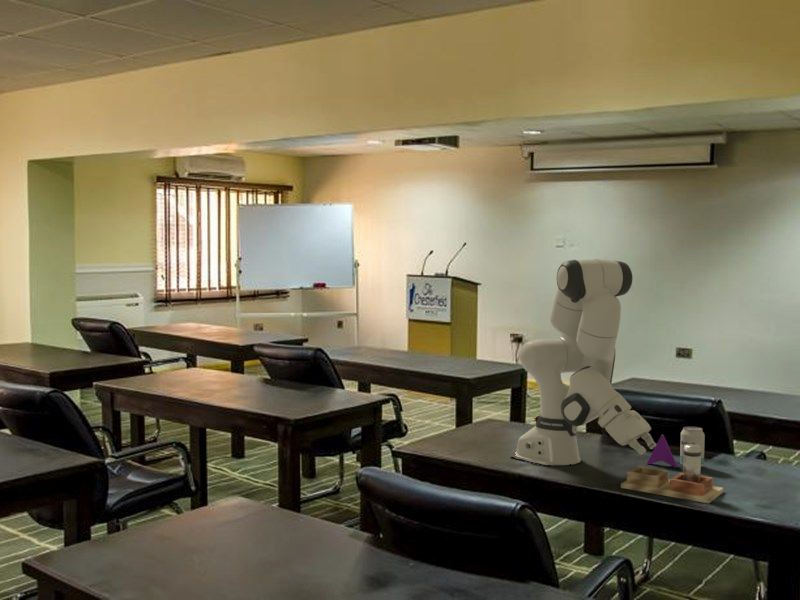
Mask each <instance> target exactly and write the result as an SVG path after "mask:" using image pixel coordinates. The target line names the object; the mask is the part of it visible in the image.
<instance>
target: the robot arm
mask: <svg viewBox="0 0 800 600" xmlns="http://www.w3.org/2000/svg"><path fill="white" fill-rule="evenodd" d="M556 284H557V290H556V295H555V298H554V301H553V304H552V308H551V313H550V317H549V319H550V323H551V326H552V327H553V328H554V329H555V330H556V331H557V332H559V333H560V336H559V337H556V338H538V339H534V340H529V341H528V342H527V341H526V342H525V343H524V344H523V345H522V347H521V349H520V352H519V361H520V364H521V366H522V367H523V370H525V372H527V373H528V374H530V375H531V377H532V379H534V381H535V382H536V384H537V387H538V390H539V399H540V402H539V403H540V414H539V415H537V416H536V417H533V418H532V419H533V423H535V426H533V427H532V428H530V429H529V430H528V431H526V432H525V433H524V434H522V435H521V436H520V437H519V438H518V442H517V445H516V450H517V451H516V452H515V454H516V455H515V456H517V457H520V458H524V459H527V460H530V461H534V462H537V463H541V464H545V465H550V464H551V466H570V464H571V465H576V464H579V463H581V460H582V459H581V455H580V453H579V452H580V451H579V447H578V439H577V434H578V427H580V426H584V425H586V424H588V423H590V422H592V421H594V420H595V419H598V420H597V424H598V425H599V426H600V427H601V428H605V429H604V430H605V431H606V432H607V433H608V434H609V436H610V437H611V438H613V440H615V442H617V443H618V445H620V446H626V445H629V447H631V448H632V449H633V450H635V451H636V452H637V453H638V454H639V455H640V456H642V455H644V454H645V453H646V452H647V449H646V448H645V447H644V446H643V445H641V444H640V443H639V442H638V439H640V438H641V439H642V440H644V441H645V443H646V444H647V447H648V448H649V449H650V450H654V449H655V447H656V445H657V443H656V442H655V441H654V438H653V437H652V435H651V434H650V433H649V432H651V430H652V427H651V426H650V424H649V423H648V422H647V420H646V419H645V418H644V417H642V416H641V415H640V413H639V412H637V411H636V410H633V409H632V406H631V404H630V403H629V402H628V401H627V400H626V398H624V396H622V394H621V393H620V392H618V391H616V390H615V389H614V387H613V386H612V382H613V376H614V369H615V360H616V343H617V338H618V333H619V328H620V324H621V323H620V322H621V313H622V312H621V309H622V308H621V307H622V306H621V302H620V300H619V298H617V297H620V296H623V295H626V294H628V293H629V291H630V289H631V287H632V285H633V273H632V269H631V267H630V266H629V265H628V263H626V262H622V261H619V260H607V259H599V258H595V259H580V260H577V259H570V260H566V261H564V262H562V263H561V265H560V266H559V267H558V269H557V273H556ZM563 373H564V374H565V373H573V374H571V376H570V377H569V385H567V384H565V383H564V382H563V380H562V375H561V374H563ZM631 409H632V410H631ZM555 464H556V465H555Z"/></svg>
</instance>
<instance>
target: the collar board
mask: <svg viewBox="0 0 800 600" xmlns="http://www.w3.org/2000/svg"><path fill="white" fill-rule="evenodd" d="M620 488H621V489H627V490H631V491H632V490H633V491H637V492H643V493H647V494H648V493H649V494H655V495H661V496H666V497H670V498H676V499H681V500H688V501H693V502H700V503H703V504H710V503H712V502H713V501H714V500H716V498H718V497H719V496H720V495H722V494H723V493H724V487H720V486H715V485H714V478H713V477H712V476H711V477H710V476H703V475H700V483H696V482H690V481H684V480H683V472H679V473H678V474H676V475H675V476H673V477H671V478H670V470H668V469H667V470H666V469H661V468H654V467H647V466H641V465H638V466H636V467H634V468H633V469H631V470H629V471H627V472H626V480H624V481H623V482H621V483H620Z"/></svg>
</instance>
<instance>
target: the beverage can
mask: <svg viewBox="0 0 800 600" xmlns="http://www.w3.org/2000/svg"><path fill="white" fill-rule="evenodd" d="M705 437H706V435H705V432H704V431H703V428H702V427H699V426H683V428H682V430H681V432H680V444H679V445H680V451H679V453H680V454H679V455H680V456H679V463H680V465H681V466H683V463H684V454H683V450H684V445H685V444H696V445H700V446H701V451H702V452H701V468H702V467H704V466H705V441H706V440H705V439H706V438H705Z"/></svg>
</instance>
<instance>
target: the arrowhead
mask: <svg viewBox="0 0 800 600" xmlns="http://www.w3.org/2000/svg"><path fill="white" fill-rule="evenodd" d="M665 437H666V436H665V435H664V434H661V436H660V438H659V439H658V441H657V443H656V447H654V448H653V451H652V453H651V455H650V457H649V458H648V460H647V462H646V465H651V464H653V463H657V462H660V461H662V462H664V463H666V464H668V465H669V466H672V467H673V468H676V469H677V468H678V464H677V462H676V460H675V458H674V455H673V453H672V451H671V448H670V447H669V444H668V442H667V439H666V438H665Z"/></svg>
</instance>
